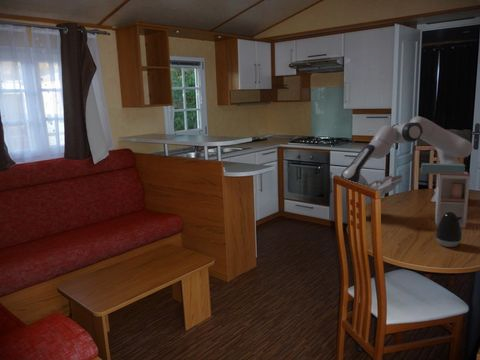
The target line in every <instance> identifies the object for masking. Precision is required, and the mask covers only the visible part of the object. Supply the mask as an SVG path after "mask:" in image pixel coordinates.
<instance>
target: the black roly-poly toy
mask: <svg viewBox="0 0 480 360" xmlns="http://www.w3.org/2000/svg"><path fill="white" fill-rule="evenodd" d="M460 219H462V217H457V216H456V214H455V213H453V212H447V213H445V214H444V215H443V216H442V218H441V220H440V222H439V224H438V226H436V231H435V238H436V241H437V242H438V244H439V245H441V246H443V247H445V248H454V247H457V246H458V245H459V244H460V243H461V241H462V239H463V235H462V228H461V226H460V222H459V220H460Z"/></svg>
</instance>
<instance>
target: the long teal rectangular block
mask: <svg viewBox="0 0 480 360" xmlns="http://www.w3.org/2000/svg"><path fill="white" fill-rule="evenodd" d="M420 166H421V167H420V170H421V171H420V173H421V174H428V175H438V174H440V173H461V174H465V172H466V164H464V163H460V164H440V163H435V162H434V163H433V162H432V163H431V162H430V163H428V162H427V163H426V162H422V163H421V165H420Z"/></svg>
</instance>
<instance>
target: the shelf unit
mask: <svg viewBox="0 0 480 360" xmlns="http://www.w3.org/2000/svg"><path fill="white" fill-rule="evenodd" d="M470 179H471V173H468V172H467V171H465V174H461V173H440V174H437V180H436V181H437V183H436V188H437V194H436V193H435V194H436V202H435V211H434V212H435V213H434V223H435V226H436V227H438V224H439V222H440V220H441V218H442V216H443V215H444V214H445V213H447V212H453V213H455V214H456V216H457V217H462V219H460V220H459V222H460V226H461V229H462V228H463V229H465V228H466V226H467V215H468V202H469V192H470V191H469V190H470V189H469V188H470ZM452 183H462V184H463V192H462V199H451V186H452Z"/></svg>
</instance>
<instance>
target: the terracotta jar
mask: <svg viewBox="0 0 480 360" xmlns="http://www.w3.org/2000/svg"><path fill="white" fill-rule="evenodd" d="M462 192H463V184H462V183H452V186H451V199H462Z"/></svg>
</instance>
